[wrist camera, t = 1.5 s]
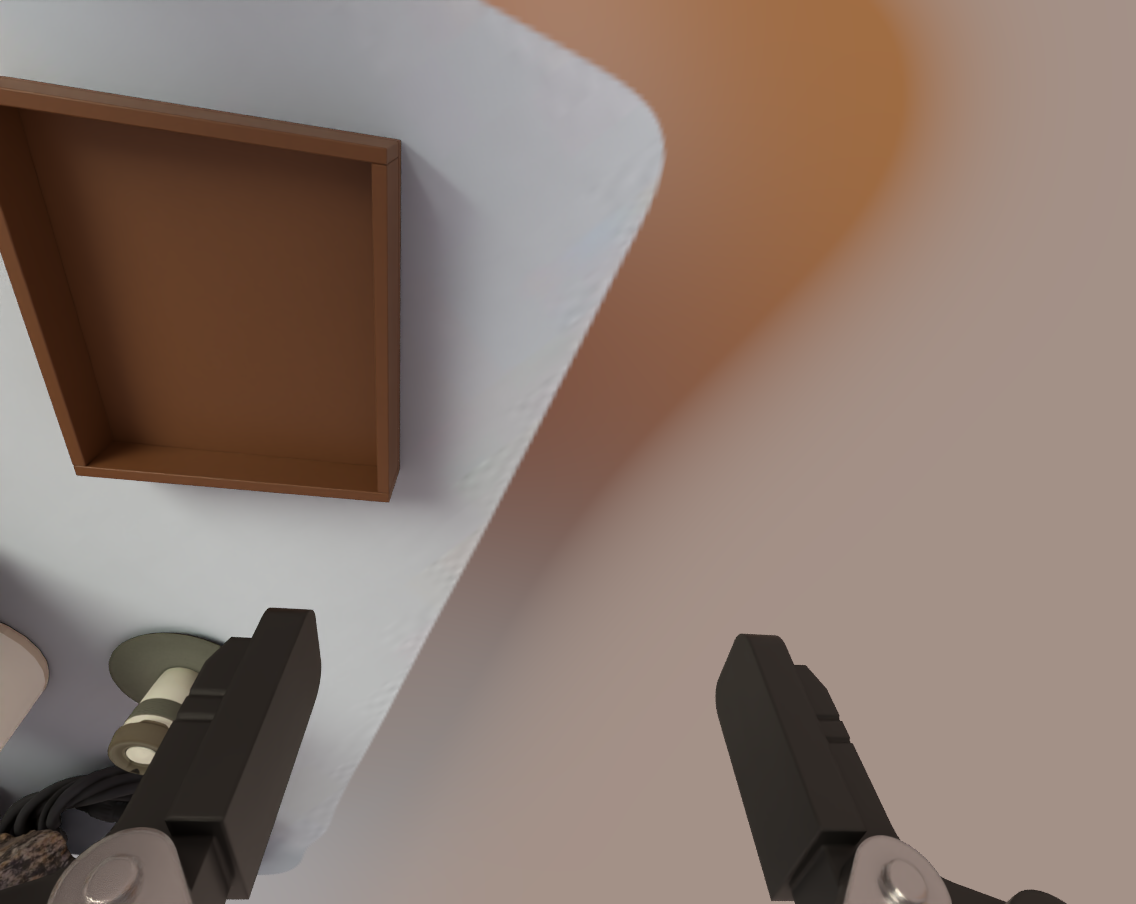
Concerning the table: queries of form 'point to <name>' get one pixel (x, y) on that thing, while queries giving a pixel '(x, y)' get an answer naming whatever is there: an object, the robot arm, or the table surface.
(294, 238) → the tray
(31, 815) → the cable
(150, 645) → the olive disc with post
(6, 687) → the mug
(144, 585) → the table surface
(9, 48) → the table surface
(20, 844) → the stone block
